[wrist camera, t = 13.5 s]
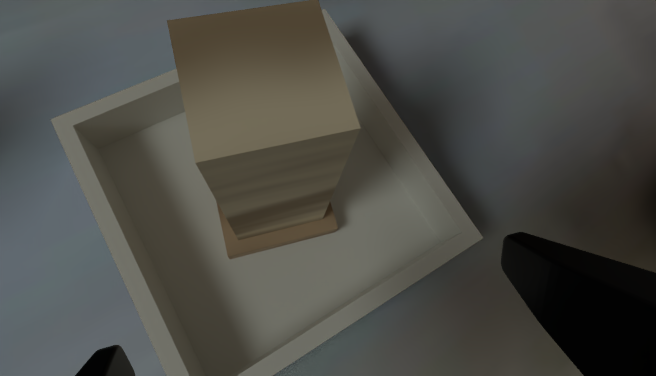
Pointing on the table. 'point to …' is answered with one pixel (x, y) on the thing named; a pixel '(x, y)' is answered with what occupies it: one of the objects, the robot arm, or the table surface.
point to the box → (266, 266)
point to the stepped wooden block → (266, 120)
